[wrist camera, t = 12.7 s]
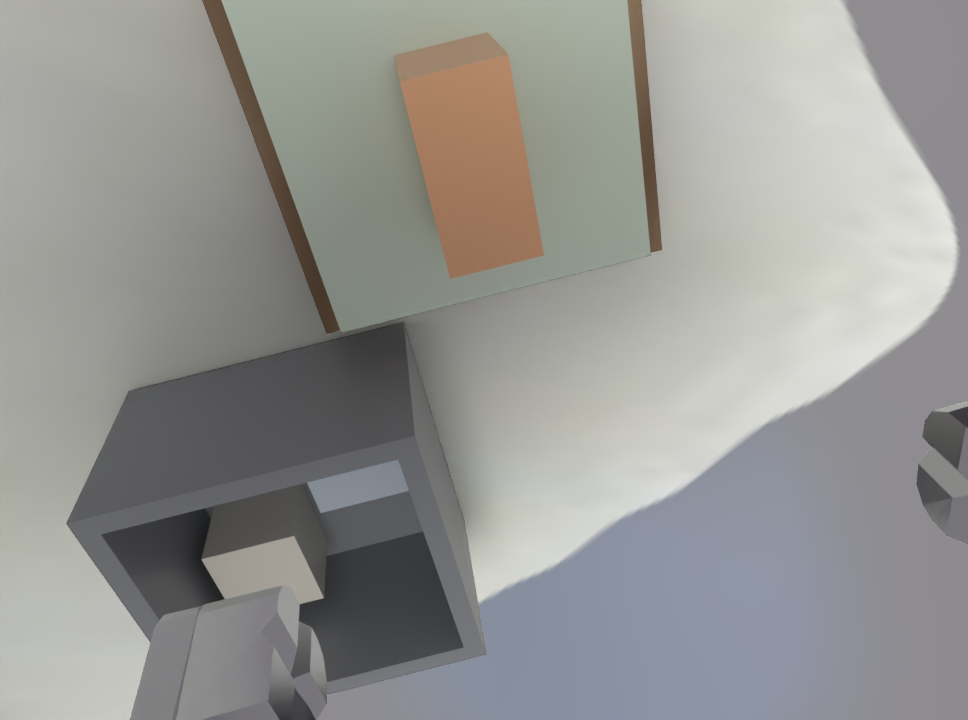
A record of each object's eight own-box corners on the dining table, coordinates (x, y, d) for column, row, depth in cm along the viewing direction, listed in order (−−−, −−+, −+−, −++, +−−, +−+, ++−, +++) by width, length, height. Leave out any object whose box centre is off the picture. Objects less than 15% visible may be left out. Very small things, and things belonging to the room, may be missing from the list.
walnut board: (327, 319, 31) (326, 333, 30) (190, -55, 24) (182, -52, 23) (652, 238, 32) (661, 249, 31) (616, -159, 24) (627, -161, 23)
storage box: (235, 579, 38) (208, 725, 32) (128, 391, 32) (66, 523, 25) (464, 521, 38) (486, 654, 32) (403, 322, 32) (414, 436, 25)
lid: (342, 308, 30) (338, 391, 25) (226, -21, 24) (189, 0, 18) (634, 235, 30) (689, 303, 25) (598, -113, 24) (663, -116, 19)
